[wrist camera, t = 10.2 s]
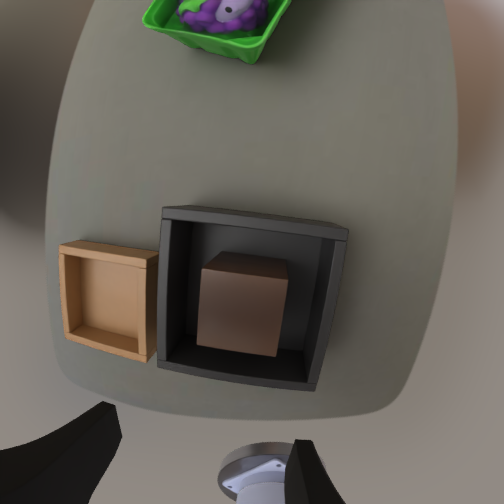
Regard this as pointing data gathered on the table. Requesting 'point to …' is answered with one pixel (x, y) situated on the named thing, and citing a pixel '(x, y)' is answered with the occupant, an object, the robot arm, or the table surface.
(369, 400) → the table surface
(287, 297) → the black basket
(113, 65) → the table surface
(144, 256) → the kraft box
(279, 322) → the walnut block
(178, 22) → the fruit basket
